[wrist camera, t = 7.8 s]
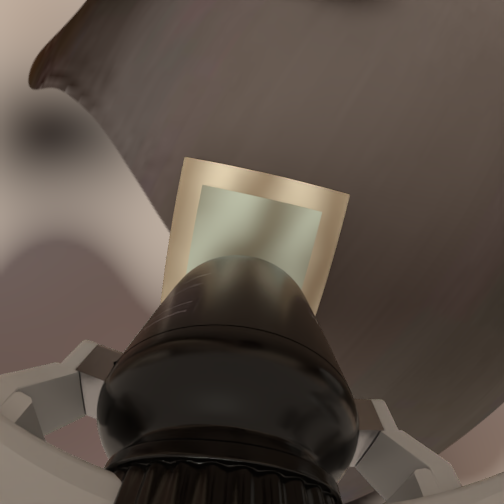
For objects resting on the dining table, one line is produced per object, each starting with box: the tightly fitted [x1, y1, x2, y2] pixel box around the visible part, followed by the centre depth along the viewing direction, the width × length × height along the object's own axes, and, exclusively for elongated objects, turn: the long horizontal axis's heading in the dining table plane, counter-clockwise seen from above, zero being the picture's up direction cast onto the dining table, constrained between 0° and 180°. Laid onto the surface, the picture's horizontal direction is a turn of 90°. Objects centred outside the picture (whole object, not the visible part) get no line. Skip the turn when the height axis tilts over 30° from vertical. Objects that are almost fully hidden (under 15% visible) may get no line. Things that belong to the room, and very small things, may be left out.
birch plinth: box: [161, 157, 350, 315], centre depth 27 cm, size 14×14×3 cm
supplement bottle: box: [97, 255, 359, 504], centre depth 9 cm, size 7×7×12 cm
